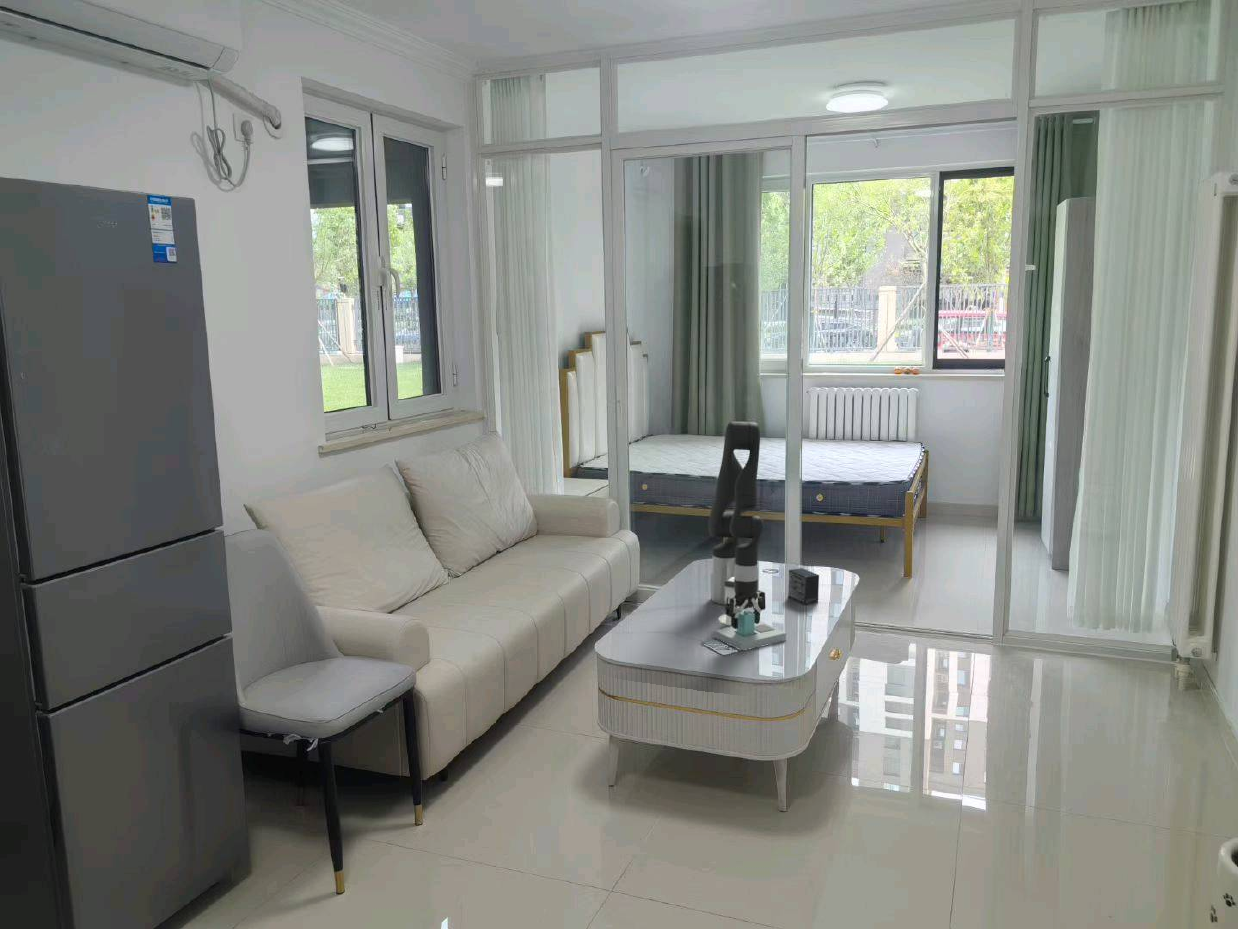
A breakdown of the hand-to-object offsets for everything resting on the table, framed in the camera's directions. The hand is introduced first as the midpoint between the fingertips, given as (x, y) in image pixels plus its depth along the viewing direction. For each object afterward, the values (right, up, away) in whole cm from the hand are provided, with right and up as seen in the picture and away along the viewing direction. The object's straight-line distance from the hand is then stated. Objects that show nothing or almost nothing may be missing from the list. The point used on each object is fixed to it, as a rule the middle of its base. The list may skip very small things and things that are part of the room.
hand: (745, 625), depth 300 cm
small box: (+27, +2, +40) cm, 48 cm away
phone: (-9, -7, -5) cm, 12 cm away
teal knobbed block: (0, -5, +1) cm, 5 cm away
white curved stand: (-1, -2, +20) cm, 20 cm away
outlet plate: (+2, -5, +2) cm, 5 cm away
